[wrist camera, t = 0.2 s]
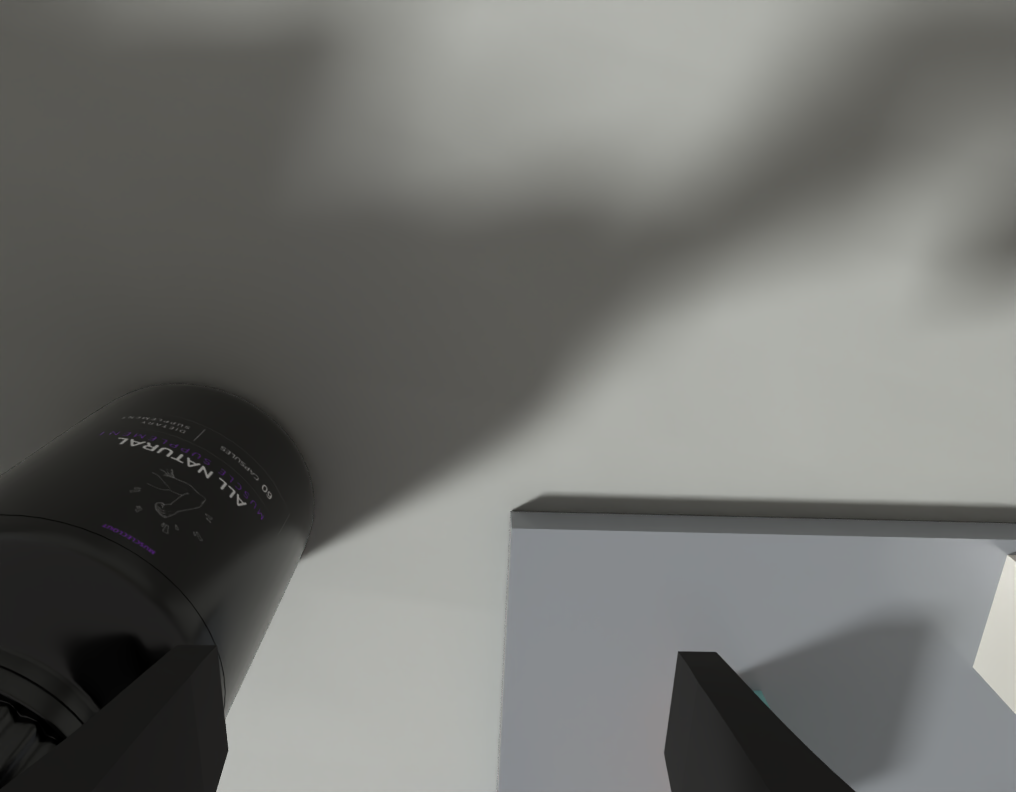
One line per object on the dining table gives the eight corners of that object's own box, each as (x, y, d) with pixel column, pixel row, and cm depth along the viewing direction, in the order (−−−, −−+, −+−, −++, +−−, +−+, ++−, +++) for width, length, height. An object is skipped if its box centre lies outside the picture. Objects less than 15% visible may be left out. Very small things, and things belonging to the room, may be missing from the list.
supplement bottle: (301, 368, 20) (68, 668, 9) (332, 582, 22) (179, 1039, 11) (46, 381, 20) (-518, 702, 9) (104, 596, 22) (-284, 1070, 11)
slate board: (976, 881, 28) (993, 908, 27) (492, 880, 27) (492, 907, 26) (1101, 525, 23) (1128, 542, 22) (510, 511, 22) (511, 528, 21)
